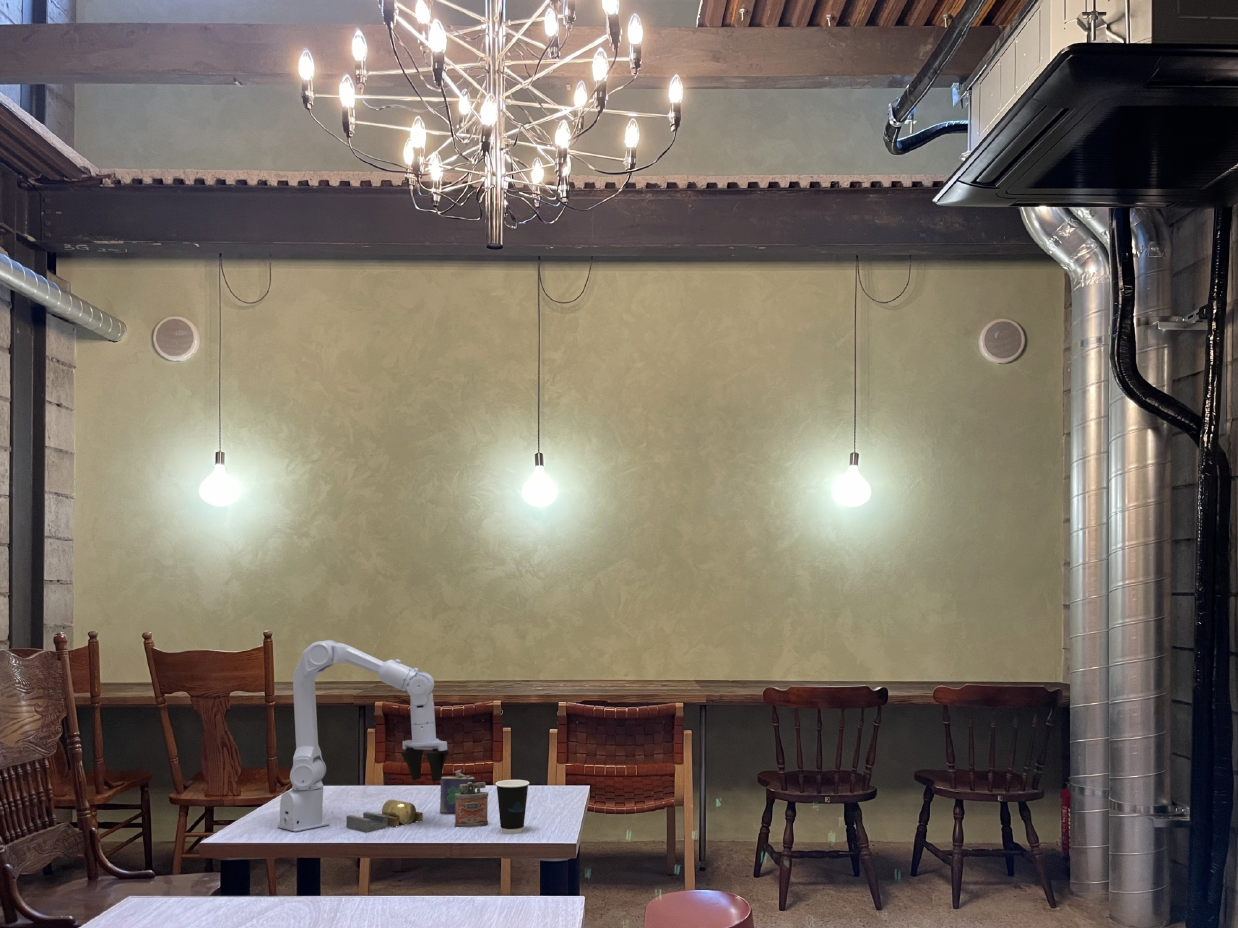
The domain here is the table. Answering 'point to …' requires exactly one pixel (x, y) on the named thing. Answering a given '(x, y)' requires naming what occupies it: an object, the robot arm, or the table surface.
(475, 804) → the lighter
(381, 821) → the v block
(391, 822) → the brown u-shaped block
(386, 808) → the gold capsule
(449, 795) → the flask
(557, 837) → the table surface
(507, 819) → the dixie cup
